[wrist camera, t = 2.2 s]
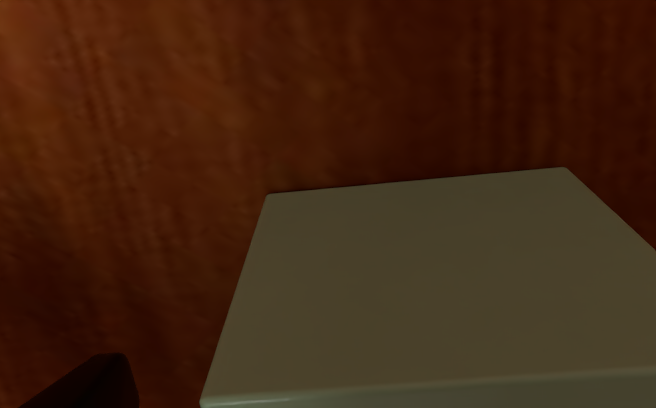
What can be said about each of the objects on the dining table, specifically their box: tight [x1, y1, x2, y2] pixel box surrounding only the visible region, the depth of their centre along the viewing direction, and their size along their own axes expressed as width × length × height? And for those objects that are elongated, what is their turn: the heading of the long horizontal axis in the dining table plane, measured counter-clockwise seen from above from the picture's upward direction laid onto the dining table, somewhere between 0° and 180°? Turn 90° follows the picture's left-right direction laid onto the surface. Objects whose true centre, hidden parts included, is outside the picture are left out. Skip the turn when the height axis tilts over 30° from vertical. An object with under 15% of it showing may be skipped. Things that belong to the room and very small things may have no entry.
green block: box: [199, 167, 656, 408], centre depth 7 cm, size 4×4×4 cm
